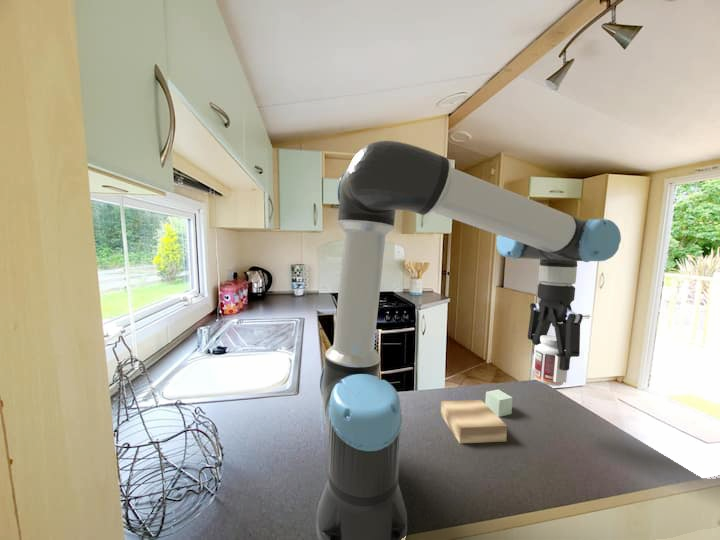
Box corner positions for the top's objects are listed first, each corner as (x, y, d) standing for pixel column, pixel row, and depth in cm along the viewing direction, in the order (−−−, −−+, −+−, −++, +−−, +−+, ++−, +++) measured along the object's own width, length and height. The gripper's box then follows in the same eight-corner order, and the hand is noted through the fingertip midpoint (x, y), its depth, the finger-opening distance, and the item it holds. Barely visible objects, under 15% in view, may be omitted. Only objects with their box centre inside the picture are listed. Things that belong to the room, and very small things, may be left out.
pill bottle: (567, 383, 70) (571, 339, 69) (556, 389, 66) (560, 343, 65) (540, 373, 75) (543, 332, 74) (528, 378, 71) (532, 336, 71)
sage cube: (511, 414, 81) (512, 397, 81) (498, 417, 80) (499, 400, 79) (497, 405, 86) (498, 389, 86) (484, 407, 84) (485, 391, 84)
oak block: (506, 441, 69) (507, 425, 69) (459, 443, 68) (460, 427, 68) (480, 413, 81) (481, 399, 81) (440, 414, 80) (441, 401, 80)
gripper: (608, 289, 60) (598, 394, 61) (541, 280, 79) (534, 360, 80) (576, 288, 59) (566, 395, 60) (516, 279, 78) (510, 360, 79)
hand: (548, 375), depth 70 cm, fingers closed on pill bottle, 6 cm apart
